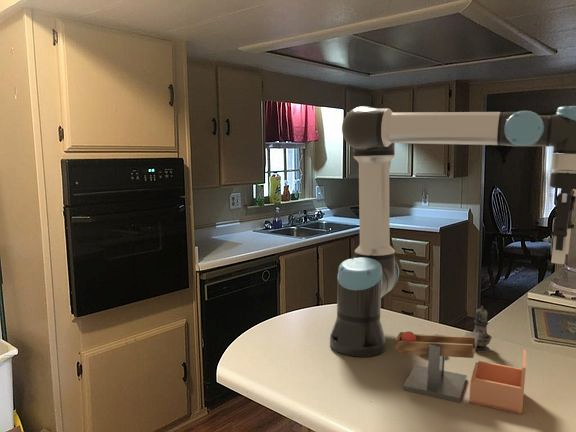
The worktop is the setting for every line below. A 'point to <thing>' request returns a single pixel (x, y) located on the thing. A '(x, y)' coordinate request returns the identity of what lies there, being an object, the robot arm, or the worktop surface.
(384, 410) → the worktop surface
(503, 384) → the orange open box
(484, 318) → the grey stone statuette
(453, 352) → the lever
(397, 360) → the worktop surface
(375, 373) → the worktop surface
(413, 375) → the lever stand
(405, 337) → the ball
